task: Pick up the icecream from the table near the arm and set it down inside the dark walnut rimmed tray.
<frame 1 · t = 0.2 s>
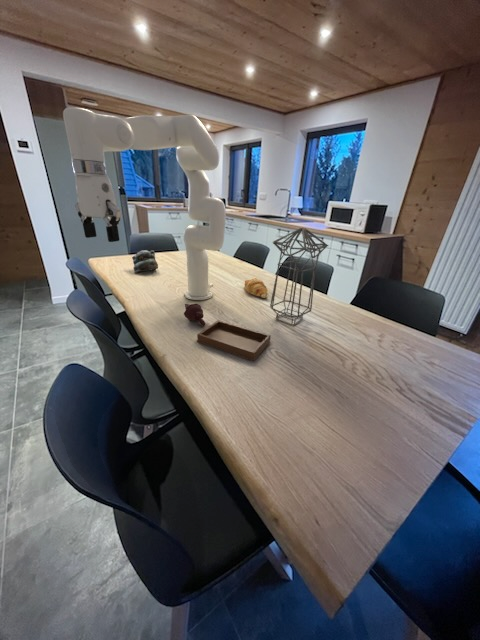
hand: (102, 239, 75), 31 cm above the table, tool pointing down, fingers open, 9 cm apart
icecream: (193, 320, 101), on the table
geometric lantern: (289, 319, 106), on the table
croissant: (254, 292, 132), on the table
grey lumpy block: (145, 271, 157), on the table
tray: (233, 342, 88), on the table
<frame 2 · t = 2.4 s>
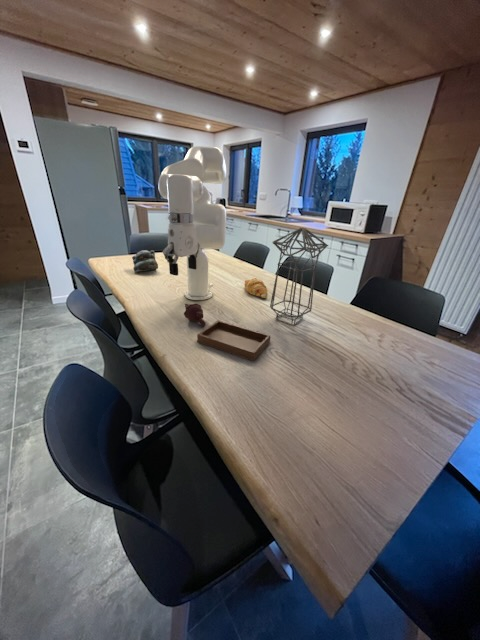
hand: (183, 271, 91), 19 cm above the table, tool pointing down, fingers open, 9 cm apart
nothing on the table moved.
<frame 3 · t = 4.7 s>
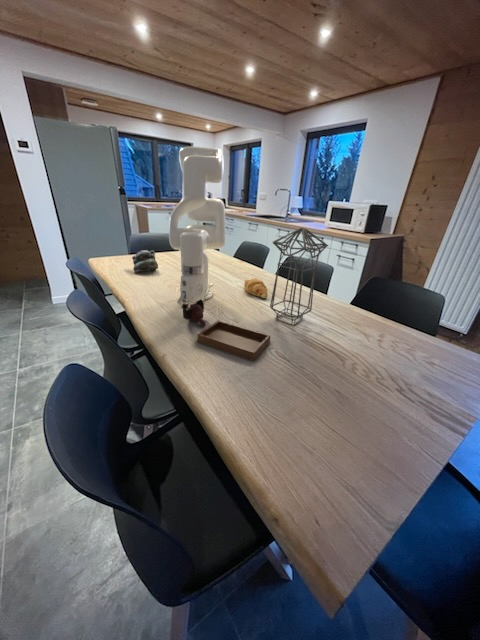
hand: (193, 314, 100), 2 cm above the table, tool pointing down, fingers closed on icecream, 7 cm apart
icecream: (193, 320, 101), on the table, touching gripper
everything else where it was.
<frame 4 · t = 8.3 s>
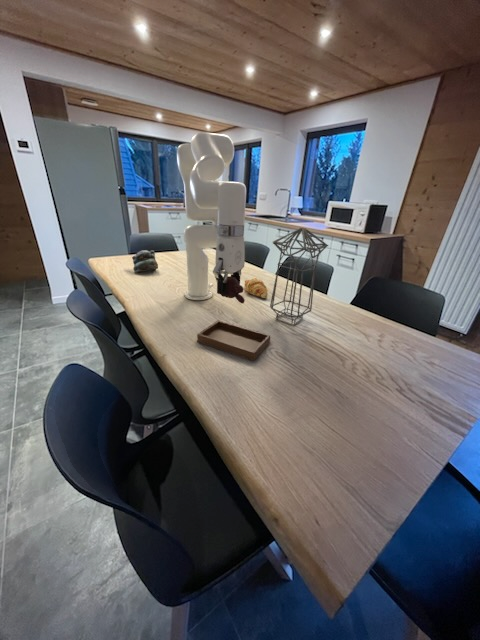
hand: (228, 290, 82), 17 cm above the table, tool pointing down, fingers closed on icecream, 7 cm apart
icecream: (228, 297, 83), point 15 cm above the table, touching gripper
everything else where it was.
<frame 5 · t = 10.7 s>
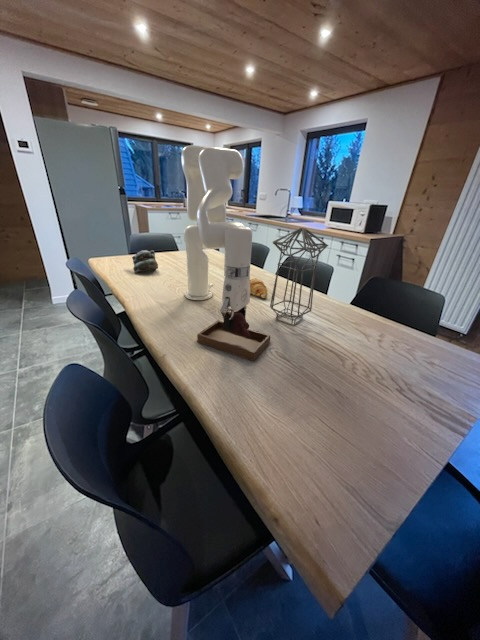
hand: (234, 324, 85), 7 cm above the table, tool pointing down, fingers closed on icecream, 7 cm apart
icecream: (234, 331, 86), point 4 cm above the table, touching gripper
everything else where it was.
when the fingers open (3 cm above the table, at t = 12.2 s): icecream stays where it is, resting on tray.
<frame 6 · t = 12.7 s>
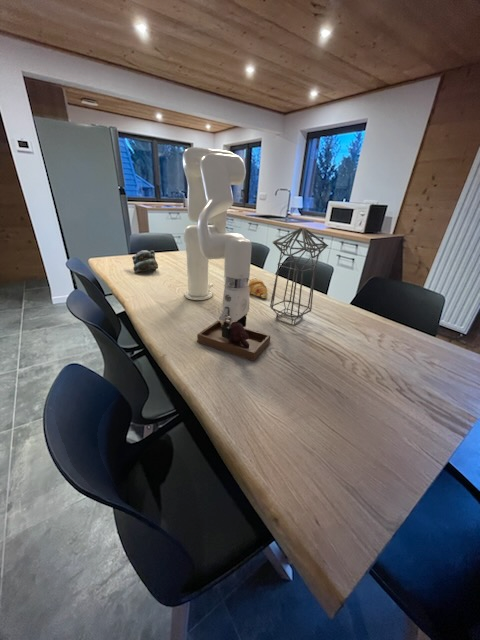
hand: (234, 331, 86), 4 cm above the table, tool pointing down, fingers open, 9 cm apart
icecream: (233, 340, 87), point 1 cm above the table, touching tray
everything else where it was.
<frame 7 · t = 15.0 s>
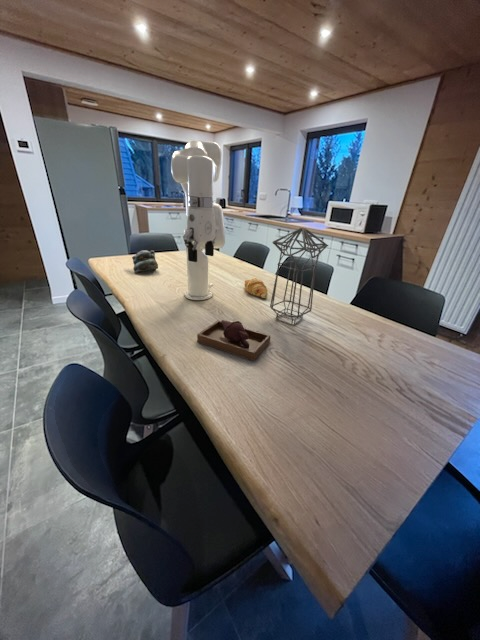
hand: (201, 258, 89), 24 cm above the table, tool pointing down, fingers open, 9 cm apart
nothing on the table moved.
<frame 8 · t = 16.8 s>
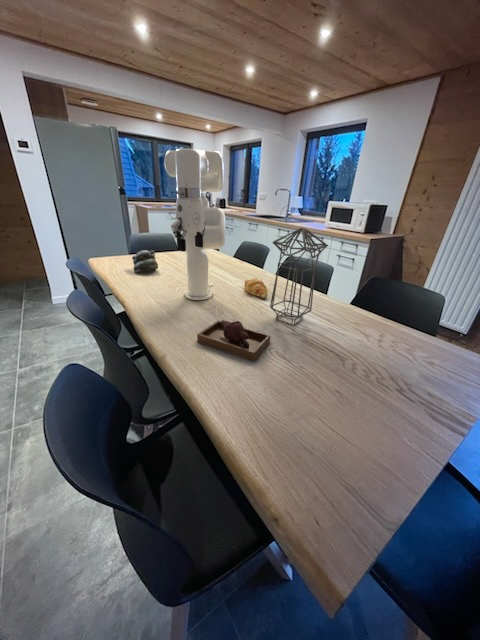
hand: (190, 248, 92), 26 cm above the table, tool pointing down, fingers open, 9 cm apart
nothing on the table moved.
at the end: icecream inside the target area in the tray (0.1 cm from its centre), point 0.6 cm above the tray's base; the gripper is holding nothing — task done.
